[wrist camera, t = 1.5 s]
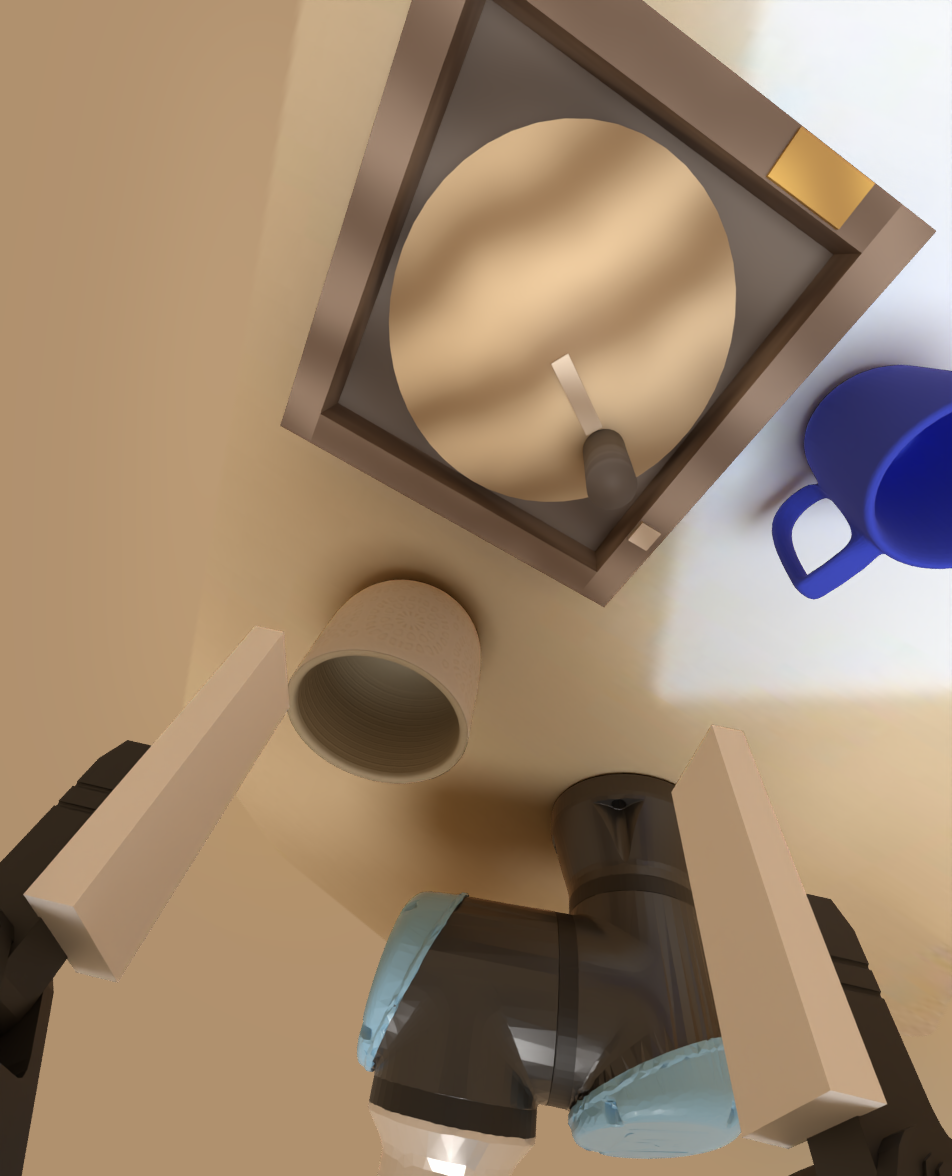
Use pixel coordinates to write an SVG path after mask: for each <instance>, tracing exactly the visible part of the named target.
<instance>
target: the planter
mask: <svg viewBox="0 0 952 1176" xmlns="http://www.w3.org/2000/svg"><path fill="white" fill-rule="evenodd" d="M480 671H481V648H480V643H479V638H478V635H477V632H476V629H475V626H474V624H473V622H472V620H471V618H470V617H469V615H468V614H467V612H466V611H465V610H464V609H463V607H462V606H461V605H460V604H459V603H458V602H457V601H456V600H455V599H453V598H452V597H451V596H449V595H448V594H447V593H445V592H443V591H442V590H440V589H438V588H436V587H434V586H431V585H429V584H426V583H422V582H418V581H412V580H390V581H384V582H380V583H377V584H374V585H372V586H369V587H367V588H365V589H363V590H362V591H360V592H358V593H357V594H355V595H354V596H353V597H351V598H350V599H349V600H348V601H347V602H346V603H345V604H344V605H343V606H342V607H341V608H340V609H339V610H338V611H337V612H336V614H335V615H334V616H333V618H332V619H331V620H330V622H329V623H328V624H327V626H326V627H325V628H324V630H323V631H322V632H321V634H320V635H319V637H318V638H317V640H316V641H315V643H314V644H313V646H312V647H311V649H310V650H309V652H308V653H307V655H306V656H305V657H304V659H303V660H302V662H301V663H300V664H299V666H298V667H297V669H296V671H295V672H294V674H293V675H292V677H291V679H290V681H289V684H288V695H289V709H288V710H287V712H288V715H289V718H290V721H291V723H292V725H293V727H294V728H295V730H296V732H297V733H298V735H299V736H300V737H301V739H302V740H303V741H304V742H305V743H306V744H307V745H308V746H309V747H310V748H311V749H312V750H313V751H314V752H315V753H316V754H318V755H319V756H320V757H322V758H323V759H324V760H326V761H327V762H329V763H330V764H332V765H334V766H336V767H337V768H339V769H341V770H343V771H346V772H348V773H350V774H353V775H355V776H358V777H361V778H365V779H368V780H373V781H378V782H384V783H395V784H406V783H416V782H422V781H426V780H429V779H432V778H435V777H437V776H440V775H442V774H443V773H445V772H447V771H448V770H449V769H451V768H452V767H453V766H454V765H455V764H456V763H457V762H458V761H459V760H460V758H461V757H462V755H463V754H464V752H465V749H466V747H467V743H468V739H469V734H470V729H471V723H472V717H473V712H474V707H475V702H476V697H477V691H478V685H479V678H480Z"/></svg>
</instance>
